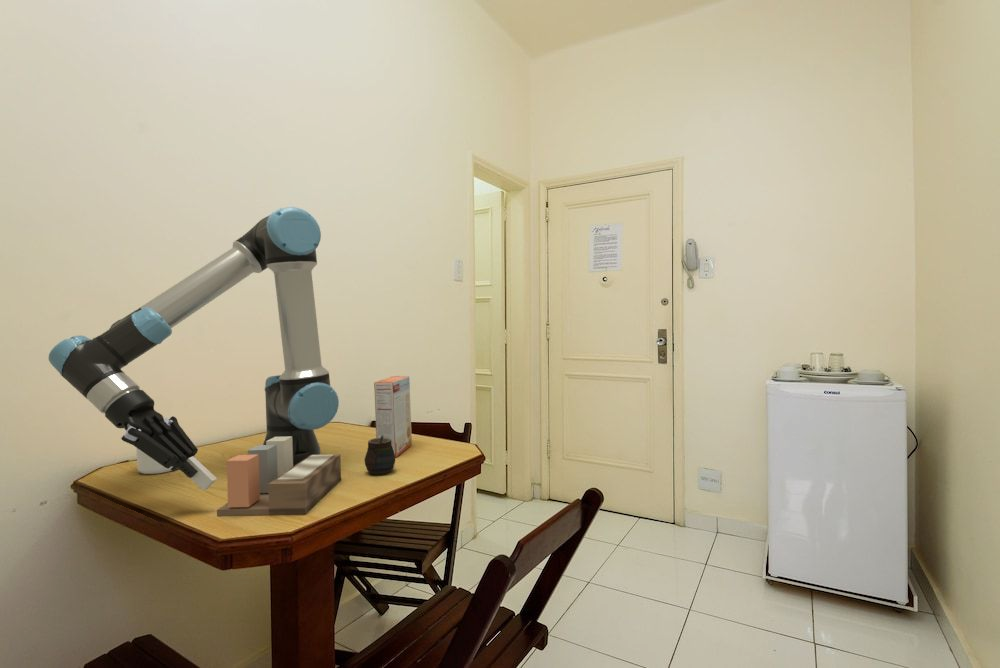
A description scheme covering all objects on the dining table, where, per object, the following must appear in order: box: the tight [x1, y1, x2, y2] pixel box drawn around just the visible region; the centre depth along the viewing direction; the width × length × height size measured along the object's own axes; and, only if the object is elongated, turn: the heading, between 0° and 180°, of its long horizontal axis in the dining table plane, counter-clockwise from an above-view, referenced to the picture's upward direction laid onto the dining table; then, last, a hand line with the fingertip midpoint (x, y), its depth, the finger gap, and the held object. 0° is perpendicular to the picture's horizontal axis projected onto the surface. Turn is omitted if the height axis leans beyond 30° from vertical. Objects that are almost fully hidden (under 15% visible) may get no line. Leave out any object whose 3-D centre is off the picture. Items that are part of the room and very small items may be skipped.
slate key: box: [247, 444, 278, 493], centre depth 106 cm, size 4×4×9 cm
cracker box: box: [373, 375, 413, 458], centre depth 142 cm, size 14×6×21 cm, turn 172°
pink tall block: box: [226, 454, 260, 507], centre depth 98 cm, size 4×4×9 cm
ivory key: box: [266, 436, 294, 477], centre depth 114 cm, size 4×4×9 cm
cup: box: [136, 427, 184, 475], centre depth 128 cm, size 10×10×10 cm
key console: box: [216, 454, 342, 517], centre depth 106 cm, size 21×17×6 cm
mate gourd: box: [364, 435, 396, 476], centre depth 122 cm, size 7×8×10 cm
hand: (210, 484), depth 98 cm, fingers closed
